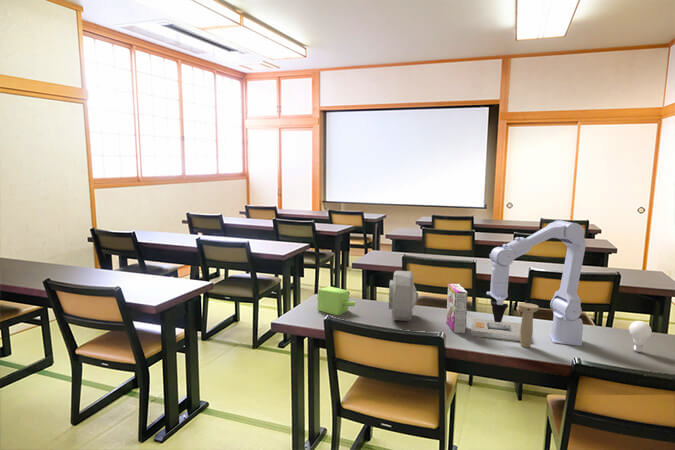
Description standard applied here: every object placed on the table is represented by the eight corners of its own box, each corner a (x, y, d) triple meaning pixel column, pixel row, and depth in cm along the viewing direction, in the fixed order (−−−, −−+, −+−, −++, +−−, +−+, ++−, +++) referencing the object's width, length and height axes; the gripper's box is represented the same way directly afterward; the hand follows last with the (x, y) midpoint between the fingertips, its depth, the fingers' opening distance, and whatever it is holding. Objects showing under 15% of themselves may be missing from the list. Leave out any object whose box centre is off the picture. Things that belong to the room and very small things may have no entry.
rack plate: (524, 328, 169) (524, 323, 169) (529, 342, 156) (530, 336, 156) (471, 322, 175) (471, 317, 174) (471, 335, 161) (472, 330, 161)
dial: (417, 329, 167) (420, 278, 164) (387, 326, 169) (389, 277, 166) (416, 311, 187) (418, 266, 184) (389, 309, 189) (391, 265, 186)
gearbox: (359, 312, 186) (360, 291, 185) (347, 318, 178) (348, 296, 177) (324, 304, 196) (325, 283, 195) (312, 309, 187) (313, 287, 186)
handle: (515, 342, 156) (518, 302, 154) (534, 345, 154) (538, 304, 152) (515, 347, 152) (518, 306, 150) (535, 350, 149) (539, 308, 147)
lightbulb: (639, 348, 153) (643, 318, 151) (653, 355, 146) (657, 324, 145) (622, 347, 152) (625, 318, 151) (635, 355, 146) (638, 324, 145)
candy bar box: (445, 322, 174) (447, 283, 172) (457, 323, 174) (459, 283, 172) (452, 333, 163) (455, 291, 161) (466, 333, 163) (468, 291, 161)
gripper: (486, 275, 160) (484, 310, 162) (488, 285, 146) (486, 324, 148) (506, 277, 158) (504, 312, 160) (511, 287, 144) (508, 326, 146)
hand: (496, 318), depth 154 cm, fingers open, 7 cm apart
